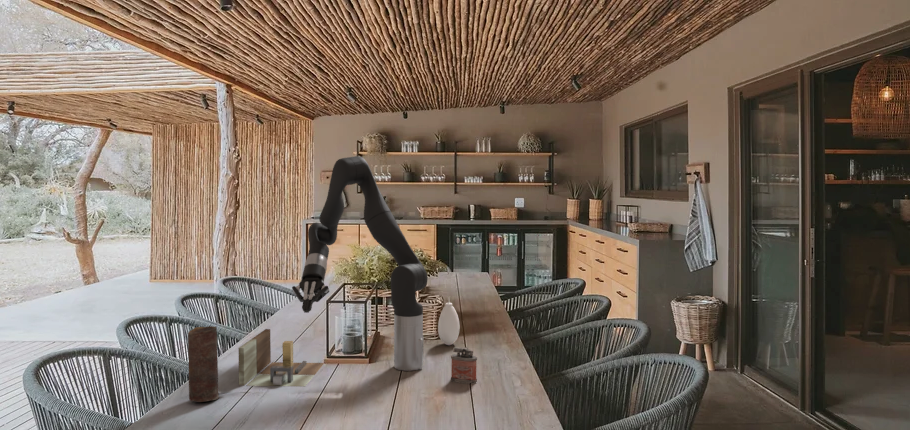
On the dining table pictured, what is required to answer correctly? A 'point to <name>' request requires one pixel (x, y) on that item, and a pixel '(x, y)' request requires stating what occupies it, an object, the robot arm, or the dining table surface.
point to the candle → (203, 364)
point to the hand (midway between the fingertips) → (306, 311)
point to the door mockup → (259, 356)
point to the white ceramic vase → (448, 324)
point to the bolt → (284, 363)
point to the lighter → (463, 366)
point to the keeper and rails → (286, 369)
